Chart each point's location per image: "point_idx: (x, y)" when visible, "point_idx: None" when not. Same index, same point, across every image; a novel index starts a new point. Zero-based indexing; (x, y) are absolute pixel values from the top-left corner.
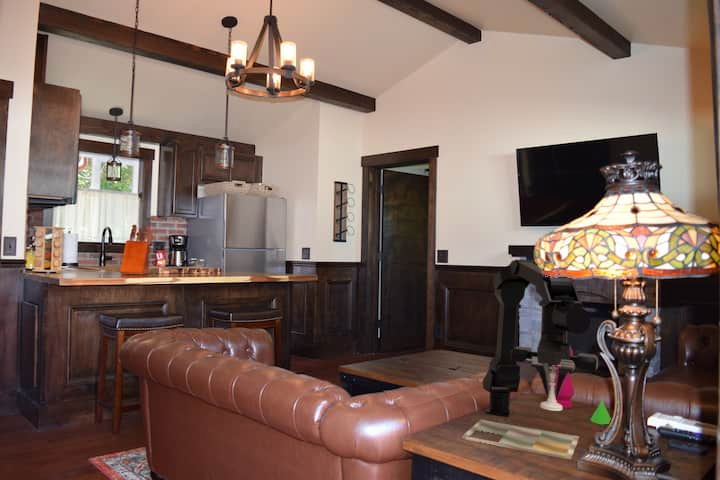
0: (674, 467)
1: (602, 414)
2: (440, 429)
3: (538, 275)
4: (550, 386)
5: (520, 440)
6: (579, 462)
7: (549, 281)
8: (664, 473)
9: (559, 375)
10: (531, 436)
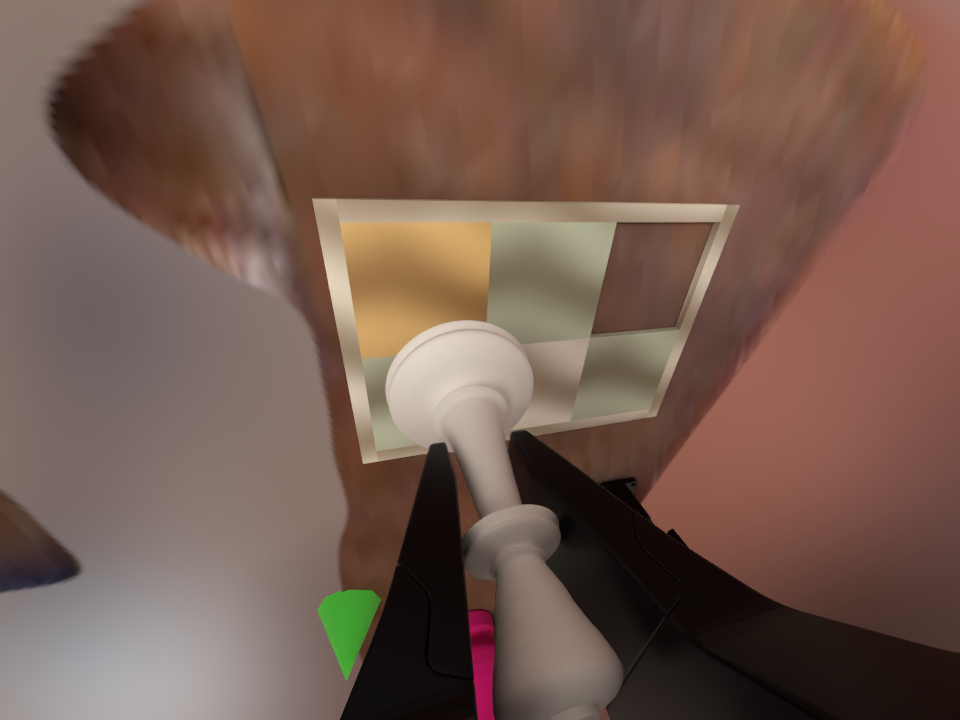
0: None
1: (342, 626)
2: (779, 267)
3: None
4: (519, 499)
5: (539, 300)
6: (266, 185)
7: None
8: None
9: (453, 689)
10: None
